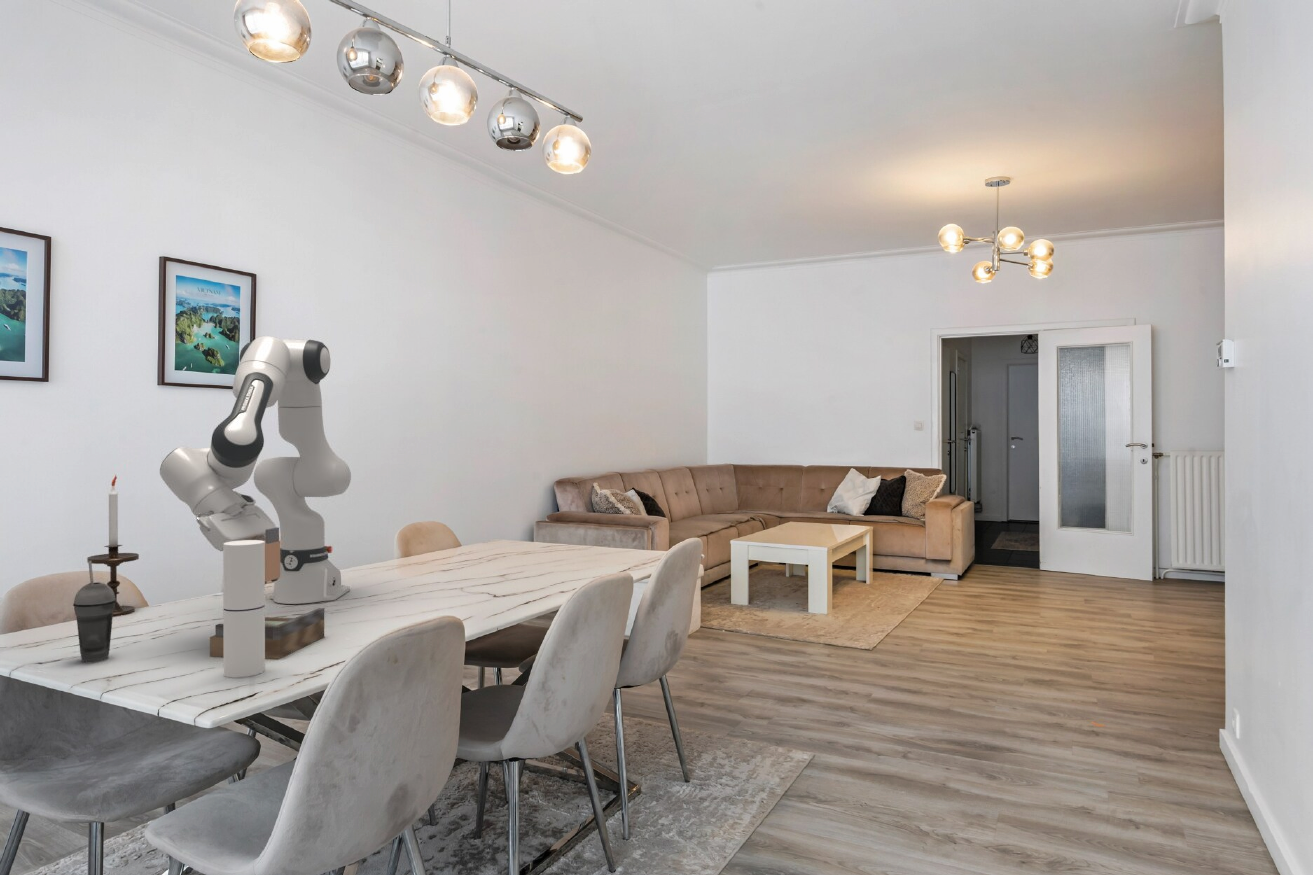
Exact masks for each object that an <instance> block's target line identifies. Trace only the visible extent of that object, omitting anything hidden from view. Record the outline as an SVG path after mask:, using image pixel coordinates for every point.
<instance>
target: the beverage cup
mask: <svg viewBox="0 0 1313 875" xmlns="http://www.w3.org/2000/svg"><path fill="white" fill-rule="evenodd" d="M87 564H88V570H89V571H88V572H89V580H90V581H89V582H90V583H88V584H85V585H84V586H81V588H79V589H78V591H77V592H76V594H75V596H74V600H73V605H72V606H73V609H74V613H75V616H76V625H77V634H78V636H77V637H78V644H79V653H80V658H81V663H85V662H91V663H98V662H103V661H106V660H108V659H109V654H110V651H111V650H110V649H111V639H112V630H113V629H112V627H113V611H114V608H115V602H116V599H115V594H114V592H113V590H112V589H111V588H110V587H109V586H108V585H107V583H104V582H99V581H98V582H94V574H93V565H92V563H91V561H88V563H87Z"/></svg>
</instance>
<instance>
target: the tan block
mask: <svg viewBox="0 0 1313 875" xmlns="http://www.w3.org/2000/svg"><path fill="white" fill-rule="evenodd" d="M261 541H262V540H261ZM280 548H281V540H280V526H279V527H277V526H276V528H271V529H266V538H265V585H266V584H267V583H268V582H274V581H277V580H278V578H280Z"/></svg>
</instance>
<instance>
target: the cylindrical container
mask: <svg viewBox="0 0 1313 875" xmlns="http://www.w3.org/2000/svg"><path fill="white" fill-rule="evenodd" d="M222 554H223V556H222V557H223V558H222V560H223V561H222V566H223V568H222V570H223V571H222V573H223V576H222V577H223V579H222V580H223V581H222V582H223V583H222V584H223V588H222V590H223V592H222V595H223V596H222V597H223V605H222V606H223V613H222V614H223V617H222V618H223V623H222V624H223V649H224V657H223V676H224V677H226V678H233V679H234V678H236V679H240V678H247V677H253V676H256V675H259V673H260V674H262V673H263V671H264V672H265V670H266V659H265V617H266V598H265V596H266V592H265V591H266V584H265V541H261V540H241V541H231V542H226V543H223V551H222Z"/></svg>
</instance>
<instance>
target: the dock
mask: <svg viewBox="0 0 1313 875" xmlns="http://www.w3.org/2000/svg"><path fill="white" fill-rule="evenodd" d="M214 628H215V630H214V631H215V635H212V636H210V637H209V657H211V658H212V657H215V658H216V657H217V658H224V649H223V623H218V624H215V627H214ZM320 638H321V639H323V638H325V607H318V608H315V609H313V610H311V611H308V612H306V613H304V614H301V615H298V616H296V617H273V616H271V617H269V616H265V660H268V659H269V660H279V659H282V658H284V657H286V656H288V655H290V654H292V653H294V652H297V651H298V650H300V649H302V648H304V647H306V645H307V646H309V645H310V643H311V644H313V643H315V642H317V641H319V640H321V639H320ZM314 641H315V642H314ZM291 652H292V653H291ZM281 657H282V658H281Z"/></svg>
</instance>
